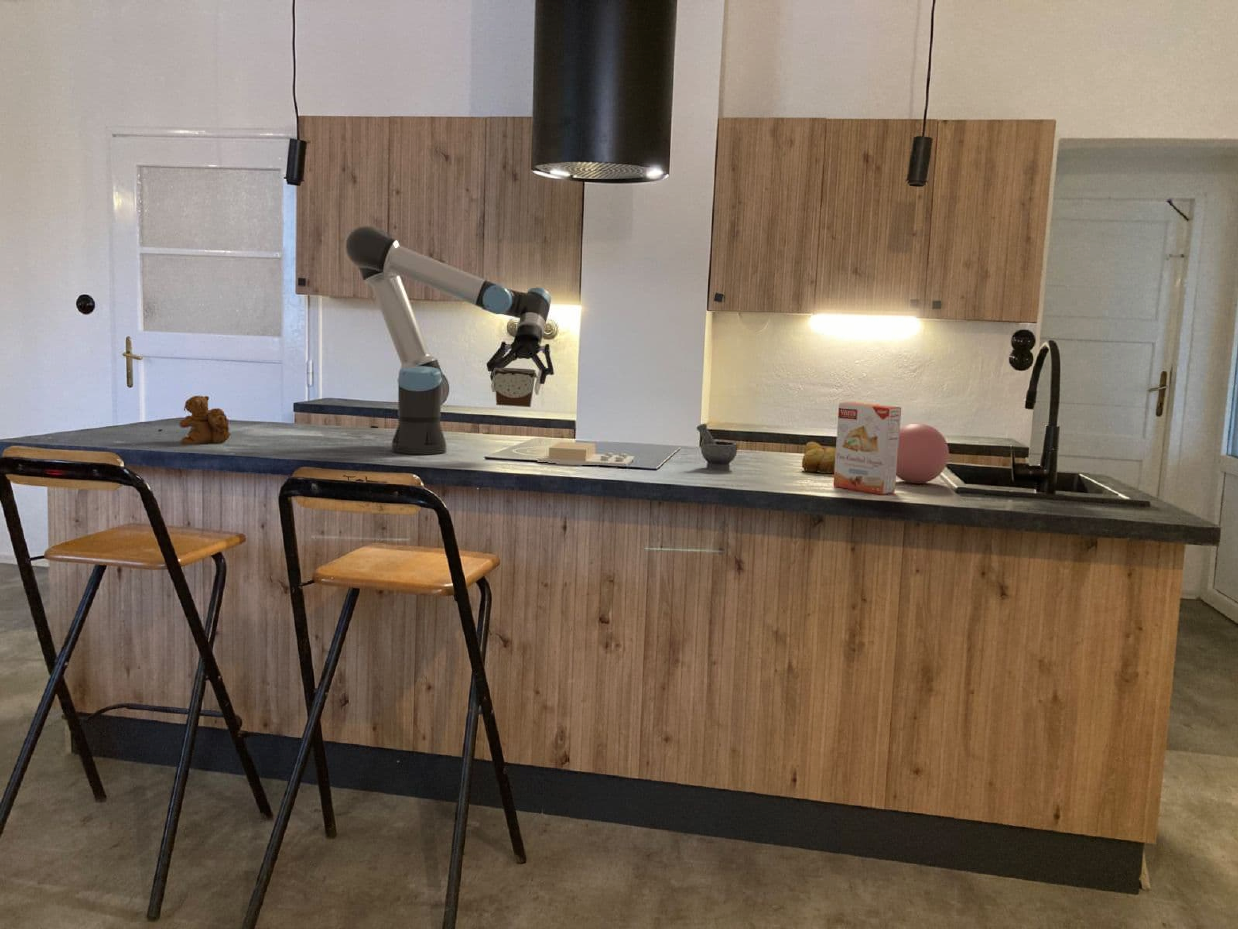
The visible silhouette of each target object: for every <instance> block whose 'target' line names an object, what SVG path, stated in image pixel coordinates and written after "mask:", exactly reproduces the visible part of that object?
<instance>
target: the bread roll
mask: <svg viewBox="0 0 1238 929" xmlns="http://www.w3.org/2000/svg"><path fill="white" fill-rule="evenodd" d="M803 448H804V449H803V453H804V454H803V456H802V459H801V460H802V461H801V468H803V470H804V471H805V472H810V473H819V474H834V469H835V455H836V447H831V446H828V447H824V446H822V445H821V444H819V443H818V442H815V441H809V442H807V443H806V444H805V446H804V447H803Z"/></svg>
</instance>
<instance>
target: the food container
mask: <svg viewBox="0 0 1238 929" xmlns="http://www.w3.org/2000/svg"><path fill="white" fill-rule="evenodd" d="M537 375H538V373H537V372H536V369H531V368H519V367H518V368H517V367H504V368H494V370H493V373H492V376H494V377H495V392H494V393H495V402H496V403H495V404H496V406H504V407H521V408H531V407H532V399H533V392H534V387H535V381H536V379H537Z"/></svg>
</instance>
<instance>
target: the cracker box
mask: <svg viewBox="0 0 1238 929" xmlns="http://www.w3.org/2000/svg"><path fill="white" fill-rule="evenodd" d="M837 416H838V417H837V429H836V443H835V444H836V445H835V449H836V455H835V469H834V473H833V484H832V485H833V487H836V488H841V489H848V490H854V491H859V492H865V493H871V494H875V495H881V496H882V495H883V496H884V495H887V494H889V495H890V494H895V493H896V492H895V491H896V481H897V476H896V471H897V458H898V445H899V432H900V428H901V416H902V407H900V406H893V405H884V404H883V405H881V404H875V403H867V402H866V403H864V402H854V401H843V402H839V403H838V415H837Z"/></svg>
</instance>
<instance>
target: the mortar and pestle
mask: <svg viewBox="0 0 1238 929" xmlns="http://www.w3.org/2000/svg"><path fill="white" fill-rule="evenodd" d="M707 426H708V425H707V424H706V423H704V422H703V423H701V424H699V425H697V427H696V430H697V431H698V432H699V434H700V436H701V439H702V441H701V442H700V451H701V455H702V457H703V459H704V460H705V461H706V462H707V463H706V469H708V470H713V469H714V470H715V471H716V470H717V471H728V470H730V468H731V466H730V463H731V462H732V461H734V459H735V458H736V456H737V453H738V446H739V444H738V443H736V442H731V441H719V440H715V439H714V438H713V436H712V435H711V432H710V431H709V429H708V427H707Z"/></svg>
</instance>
